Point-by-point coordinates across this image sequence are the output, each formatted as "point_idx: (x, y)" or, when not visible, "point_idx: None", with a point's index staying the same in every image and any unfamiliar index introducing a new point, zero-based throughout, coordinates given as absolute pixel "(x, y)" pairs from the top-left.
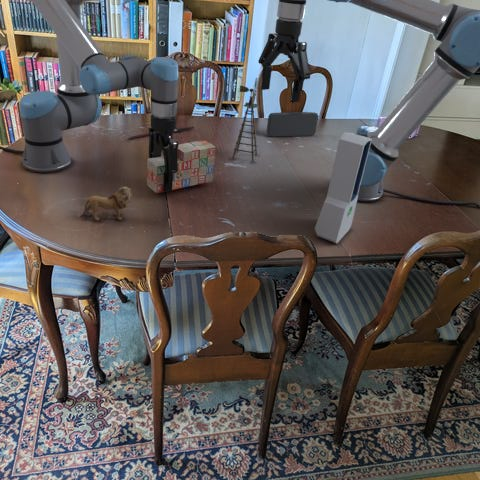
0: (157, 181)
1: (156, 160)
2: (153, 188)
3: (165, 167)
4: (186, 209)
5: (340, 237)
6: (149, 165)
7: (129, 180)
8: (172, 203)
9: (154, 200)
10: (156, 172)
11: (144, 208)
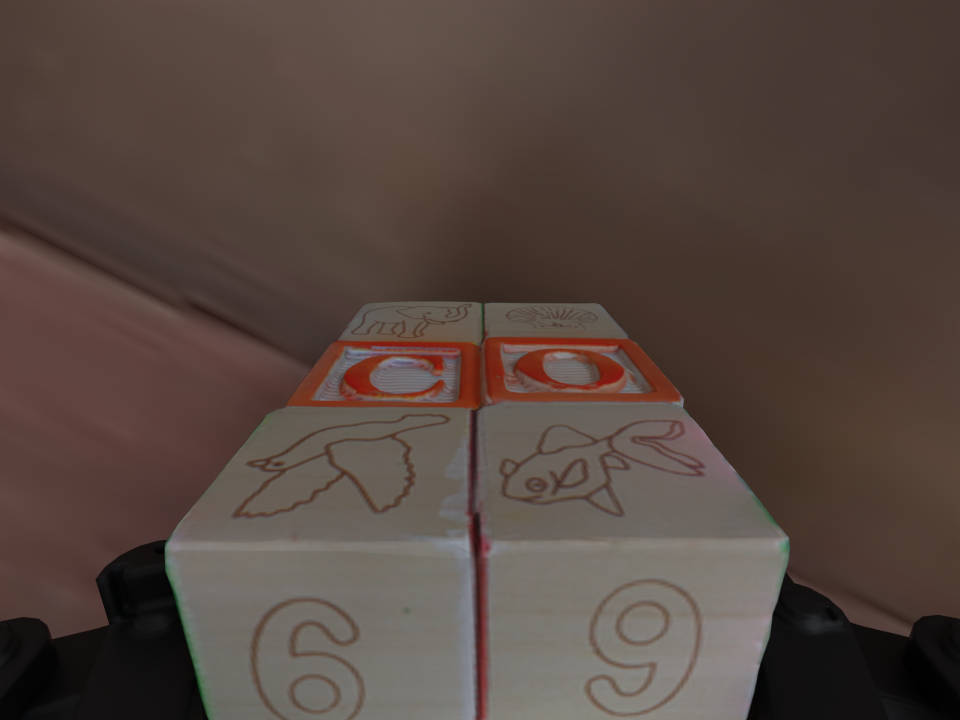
0: (315, 368)
1: (564, 689)
2: (437, 309)
3: (172, 684)
4: (102, 438)
5: None
6: (617, 452)
7: (929, 244)
8: (258, 386)
9: (387, 262)
10: (283, 435)
11: (259, 66)
